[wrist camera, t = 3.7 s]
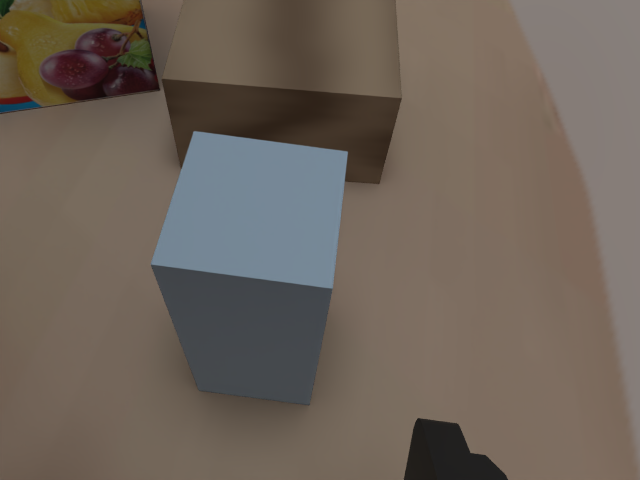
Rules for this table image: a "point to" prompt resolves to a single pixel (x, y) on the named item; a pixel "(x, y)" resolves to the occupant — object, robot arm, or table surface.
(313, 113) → the walnut block
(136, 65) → the juice carton
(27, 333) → the table surface
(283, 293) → the slate column
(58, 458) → the table surface
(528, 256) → the table surface
